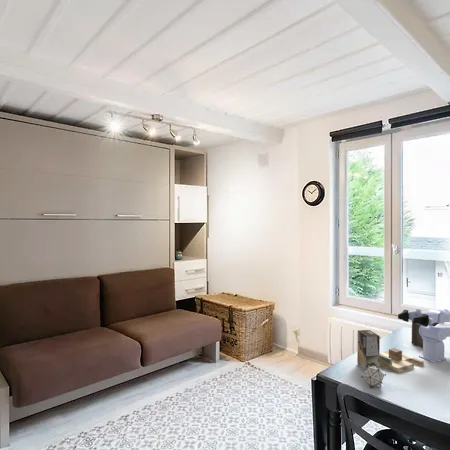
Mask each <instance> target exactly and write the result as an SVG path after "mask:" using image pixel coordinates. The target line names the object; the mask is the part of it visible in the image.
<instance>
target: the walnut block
mask: <svg viewBox="0 0 450 450" xmlns="http://www.w3.org/2000/svg"><path fill="white" fill-rule="evenodd" d="M388 351H389V358H391V359H393V360H396V361H397V360H401V359H402V353H403V350H401V349H398V348H396V347H394V348H389V349H388Z"/></svg>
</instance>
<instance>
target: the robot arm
mask: <svg viewBox="0 0 450 450" xmlns="http://www.w3.org/2000/svg"><path fill="white" fill-rule="evenodd" d="M397 319H398V320H401V321H403V322H406V323H409V322H410V321H411V322H412V321H413V323H416V324H421V326H420V328H419V334H420V335H421V336H422V339H423V347H422V354H419V356H418V357H419V358H422V359H425V360H427V361H430V362H433V363H436V362H440V361H444V360H447V357H445V343H444V340H447V338H448V337H450V325H444V324H445V323H450V310H449V309H446V308H444V309H443V310H442V309H438V310H435V309H428V310H423V311H422V309H419V308H417V309H416V310H415V311H410V312H409V309H403V310H402V312H400V313H398V315H397ZM428 323H430V324H432V326H429V325H428ZM434 323H437V324H440V326H434V325H433V324H434ZM441 325H442V326H441Z"/></svg>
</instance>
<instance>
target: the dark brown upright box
mask: <svg viewBox="0 0 450 450" xmlns="http://www.w3.org/2000/svg"><path fill="white" fill-rule="evenodd" d="M428 325H429V326H433V324H430V323H428ZM420 326H421V324H416V323H413V321H411V344H412V345H414V346H417V347H420V348H423V339H422V336H421V335H420V334H419V328H420Z"/></svg>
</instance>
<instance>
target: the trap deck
mask: <svg viewBox="0 0 450 450" xmlns="http://www.w3.org/2000/svg"><path fill="white" fill-rule="evenodd" d="M415 365H416V366H419V367H424V366H425V362H424V360H421V359H419V358H417V357H416V358H415V357H412V356H411V355H408V354H405V353H403V352H402V359H401V360H397V361H396V360H393V359H391V358H389V350H387V351H383V352H379V366H381V367H383V368H386V369H387V370H391V371H392V372H395V373H403V372H406V371H410V370H413V369H415Z"/></svg>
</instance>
